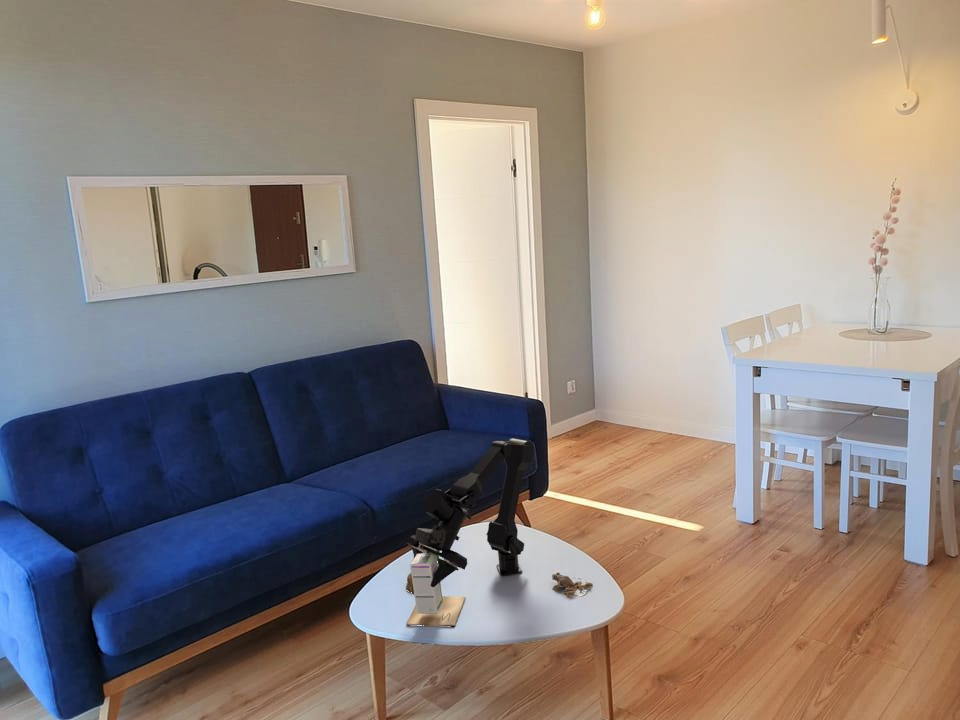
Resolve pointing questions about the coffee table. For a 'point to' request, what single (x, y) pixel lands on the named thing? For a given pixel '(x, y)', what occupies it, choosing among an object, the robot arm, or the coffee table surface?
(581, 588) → the frog figurine
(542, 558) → the coffee table surface
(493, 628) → the coffee table surface
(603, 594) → the coffee table surface
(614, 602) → the coffee table surface
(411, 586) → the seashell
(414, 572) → the syrup box
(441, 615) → the board
